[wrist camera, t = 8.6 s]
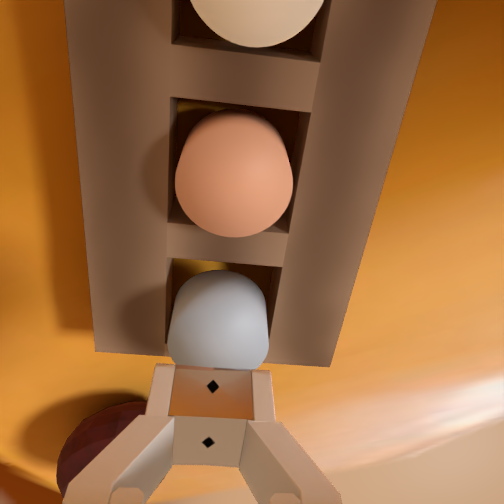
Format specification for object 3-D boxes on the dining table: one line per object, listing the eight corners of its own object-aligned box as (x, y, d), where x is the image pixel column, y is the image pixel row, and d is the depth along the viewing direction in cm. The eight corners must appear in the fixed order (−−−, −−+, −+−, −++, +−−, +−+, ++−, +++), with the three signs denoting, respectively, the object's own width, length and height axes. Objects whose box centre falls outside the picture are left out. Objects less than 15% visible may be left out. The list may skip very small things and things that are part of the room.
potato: (51, 431, 35) (18, 513, 30) (124, 360, 31) (101, 438, 26) (131, 467, 37) (114, 547, 32) (207, 405, 34) (201, 485, 28)
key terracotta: (294, 114, 20) (302, 135, 18) (278, 212, 23) (283, 242, 21) (184, 102, 20) (176, 121, 18) (180, 203, 23) (173, 232, 20)
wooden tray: (445, -131, 17) (480, -149, 15) (321, 333, 30) (329, 367, 27) (74, -192, 16) (43, -222, 14) (108, 317, 29) (95, 351, 26)
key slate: (271, 274, 24) (275, 310, 21) (259, 344, 26) (262, 384, 24) (176, 266, 23) (168, 302, 21) (173, 338, 26) (166, 378, 23)
